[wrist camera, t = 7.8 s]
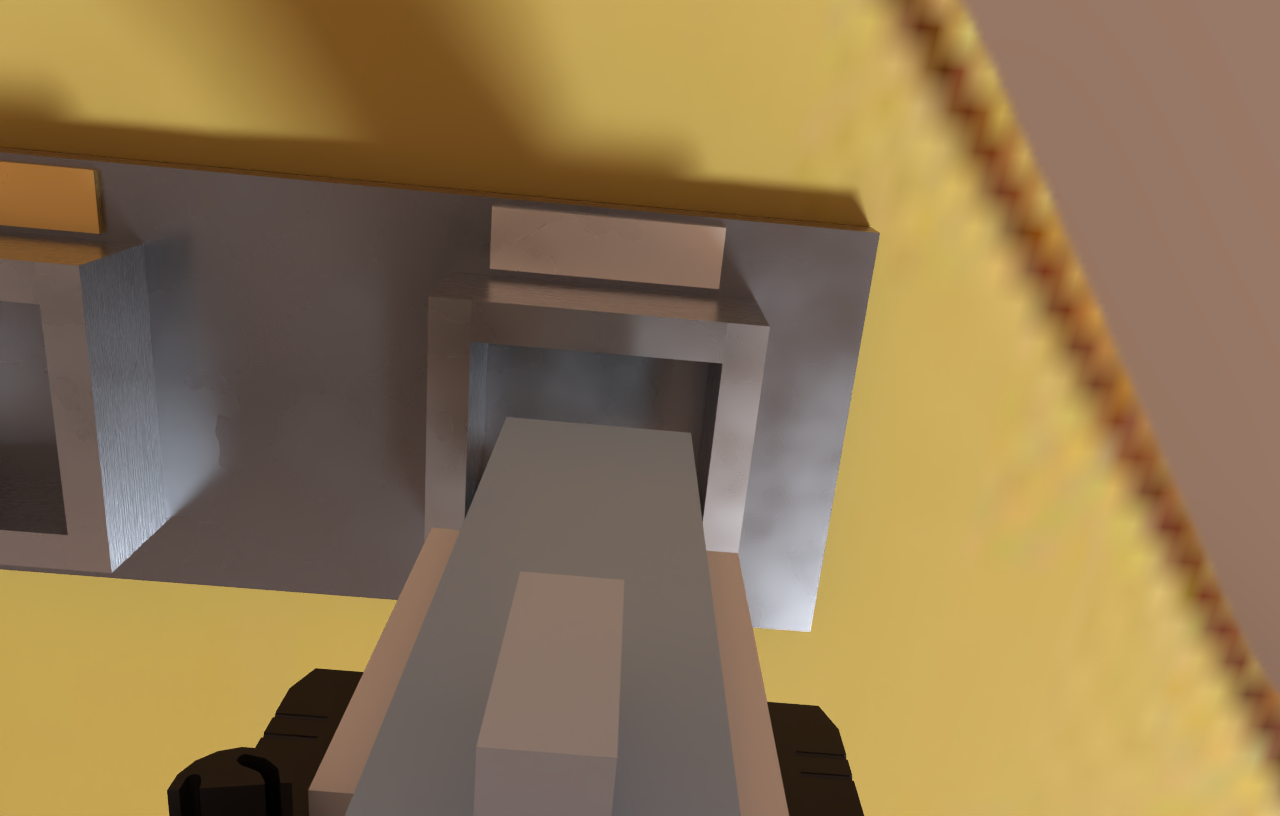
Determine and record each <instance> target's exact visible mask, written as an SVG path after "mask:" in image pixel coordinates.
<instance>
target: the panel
mask: <svg viewBox="0 0 1280 816" xmlns="http://www.w3.org/2000/svg"><path fill="white" fill-rule="evenodd" d="M879 234H880V233H879V232H877V231H876V230H874V229H873V228H871V227H863V226H852V225H841V224H830V223H819V222H808V221H797V220H786V219H776V218H765V217H754V216H743V215H732V214H721V213H710V212H699V211H689V210H678V209H667V208H656V207H645V206H634V205H623V204H612V203H601V202H591V201H580V200H569V199H558V198H547V197H536V196H525V195H514V194H504V193H493V192H482V191H471V190H460V189H449V188H438V187H427V186H416V185H406V184H395V183H384V182H373V181H362V180H351V179H340V178H329V177H319V176H308V175H297V174H286V173H275V172H264V171H253V170H242V169H231V168H221V167H210V166H199V165H188V164H177V163H166V162H155V161H144V160H134V159H123V158H112V157H101V156H90V155H79V154H68V153H57V152H46V151H36V150H25V149H14V148H3V147H0V569H5V570H18V571H31V572H44V573H56V574H69V575H82V576H95V577H108V578H121V579H134V580H147V581H160V582H173V583H186V584H199V585H211V586H224V587H237V588H250V589H263V590H276V591H289V592H302V593H315V594H328V595H341V596H354V597H367V598H379V599H392V600H398V598H399V596H400V594H401V592H402V590H403V588H404V586H405V583H406V581H407V579H408V577H409V575H410V573H411V571H412V569H413V566H414V564H415V562H416V560H417V558H418V556H419V554H420V552H421V549H422V547H423V545H424V543H425V541H426V539H427V537H428V535H429V532H430V530H431V528H443V529H455V530H461V528H462V525H463V523H464V520H465V518H466V515H467V513H468V511H469V508H470V506H471V503H472V501H473V498H474V496H475V493H476V491H477V488H478V486H479V483H480V481H481V478H482V476H483V474H484V471H485V469H486V466H487V464H488V461H489V459H490V456H491V454H492V451H493V449H494V446H495V444H496V442H497V439H498V437H499V434H500V432H501V429H502V427H503V424H504V422H505V419H506V417H514V418H525V419H537V420H548V421H560V422H571V423H583V424H594V425H606V426H617V427H629V428H641V429H652V430H664V431H675V432H687V433H691V437H692V444H693V452H694V460H695V467H696V475H697V483H698V491H699V498H700V506H701V514H702V521H703V529H704V537H705V544H706V551H718V552H730V553H738V556H739V561H740V566H741V571H742V576H743V581H744V586H745V592H746V597H747V602H748V607H749V612H750V617H751V622H752V627H754V628H767V629H780V630H793V631H806V632H810V630H811V625H812V619H813V613H814V607H815V602H816V596H817V590H818V584H819V579H820V573H821V567H822V561H823V556H824V550H825V544H826V539H827V533H828V527H829V521H830V516H831V510H832V504H833V498H834V493H835V487H836V481H837V475H838V470H839V464H840V458H841V452H842V447H843V441H844V435H845V430H846V424H847V418H848V412H849V407H850V401H851V395H852V389H853V384H854V378H855V372H856V366H857V361H858V355H859V349H860V343H861V338H862V332H863V326H864V321H865V315H866V309H867V303H868V298H869V292H870V286H871V280H872V275H873V269H874V263H875V257H876V252H877V246H878V240H879Z"/></svg>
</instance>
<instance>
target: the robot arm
mask: <svg viewBox="0 0 1280 816" xmlns="http://www.w3.org/2000/svg"><path fill="white" fill-rule="evenodd" d="M459 533H460V530H455V529H443V528H431V530H430V532H429V535H428V537H427V539H426V541H425V543H424V545H423V547H422V549H421V552H420V554H419V556H418V558H417V560H416V562H415V564H414V566H413V569H412V571H411V573H410V575H409V577H408V579H407V581H406V583H405V586H404V588H403V590H402V592H401V594H400V596H399V598H398V600H397V603H396V605H395V607H394V609H393V611H392V613H391V615H390V617H389V620H388V622H387V624H386V626H385V628H384V630H383V632H382V634H381V637H380V639H379V641H378V643H377V645H376V647H375V649H374V651H373V654H372V656H371V658H370V660H369V662H368V664H367V666H366V668H365V671H364V672H354V671H342V670H329V669H317V668H316V669H314V670H313V671H312V672H310V673H309V674H308V675H306V676H305V677H304V678H303V679H301V680H300V681H299V682H297V683H296V684H295V685H293V686H292V687H291V688H290V689H289V690H288V692H287V694H286V696H285V697H284V699H283V701H282V702H281V704H280V706H279V708H278V709H277V711H276V714H275V718H274V717H273V718H272V720H271V721H270V723H269V725H268V727H267V728H266V730H265V732H264V737H263V738H261V739H260V740H259V742H258V744H257V746H256V747H255V748H246V747H240V748H234V749H228V750H222V751H218V752H215V753H213V754H210V755H208V756H206V757H203V758H201V759H199V760H196V761H195V762H193V763H192V764H191V765H189V766H188V767H187V768H185V769H184V770H183V771H182V772H180V773H179V774H178V775H177V776H176V778H175V779H174V781H173V782H172V784H171V785H170V787H169V788H168V790H167V794H168V805H169V815H170V816H345V814H346V811H347V809H348V806H349V804H350V802H351V799H352V797H353V794H354V792H355V789H356V787H357V784H358V782H359V779H360V777H361V774H362V772H363V769H364V767H365V765H366V762H367V760H368V757H369V755H370V752H371V750H372V747H373V745H374V742H375V740H376V737H377V735H378V732H379V730H380V728H381V725H382V723H383V720H384V718H385V715H386V713H387V710H388V708H389V705H390V703H391V700H392V698H393V696H394V693H395V691H396V688H397V686H398V683H399V681H400V678H401V676H402V673H403V671H404V668H405V666H406V663H407V661H408V659H409V656H410V654H411V651H412V649H413V646H414V644H415V641H416V639H417V636H418V634H419V631H420V629H421V626H422V624H423V622H424V619H425V617H426V614H427V612H428V609H429V607H430V604H431V602H432V599H433V597H434V594H435V592H436V589H437V587H438V585H439V582H440V580H441V577H442V575H443V572H444V570H445V567H446V565H447V562H448V560H449V557H450V555H451V552H452V550H453V548H454V545H455V543H456V540H457V538H458V535H459ZM706 552H707V560H708V568H709V575H710V583H711V591H712V598H713V606H714V614H715V621H716V629H717V637H718V645H719V652H720V660H721V668H722V675H723V683H724V691H725V698H726V706H727V714H728V722H729V729H730V737H731V745H732V752H733V760H734V768H735V775H736V783H737V791H738V799H739V806H740V814H741V816H864V814H863V810H862V807H861V804H860V800H859V797H858V793H857V790H856V787H855V783H854V781H852V773H851V770H850V766H849V763H848V760H846V753H845V749H844V746H843V743H842V739H841V736H840V733H839V729H838V728H837V727H836V726H835V725H834V723H833V722H832V721H831V720H830V719H829V718H828V716H827V715H826V714H825V713H824V712H823V711H822V710H821V708H820V707H819V706H812V705H799V704H787V703H774V702H767V700H766V694H765V689H764V684H763V679H762V674H761V669H760V664H759V658H758V653H757V648H756V643H755V638H754V633H753V628H752V622H751V617H750V612H749V607H748V602H747V597H746V592H745V586H744V581H743V576H742V571H741V566H740V561H739V556H738V553H730V552H718V551H706Z"/></svg>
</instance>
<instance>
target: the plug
mask: <svg viewBox="0 0 1280 816" xmlns="http://www.w3.org/2000/svg"><path fill="white" fill-rule="evenodd" d="M345 816H741V814H740V806H739V799H738V791H737V783H736V775H735V768H734V760H733V752H732V745H731V737H730V729H729V722H728V714H727V706H726V698H725V691H724V683H723V675H722V668H721V660H720V652H719V645H718V637H717V629H716V621H715V614H714V606H713V598H712V591H711V583H710V575H709V568H708V560H707V552H706V544H705V537H704V529H703V521H702V514H701V506H700V498H699V491H698V483H697V475H696V467H695V460H694V452H693V444H692V437H691V433H687V432H675V431H664V430H652V429H641V428H629V427H617V426H606V425H594V424H583V423H571V422H560V421H548V420H537V419H525V418H514V417H506V419H505V422H504V424H503V427H502V429H501V432H500V434H499V437H498V439H497V442H496V444H495V446H494V449H493V451H492V454H491V456H490V459H489V461H488V464H487V466H486V469H485V471H484V474H483V476H482V478H481V481H480V483H479V486H478V488H477V491H476V493H475V496H474V498H473V501H472V503H471V506H470V508H469V511H468V513H467V515H466V518H465V520H464V523H463V525H462V528H461V530H460V533H459V535H458V538H457V540H456V543H455V545H454V548H453V550H452V552H451V555H450V557H449V560H448V562H447V565H446V567H445V570H444V572H443V575H442V577H441V580H440V582H439V585H438V587H437V589H436V592H435V594H434V597H433V599H432V602H431V604H430V607H429V609H428V612H427V614H426V617H425V619H424V622H423V624H422V626H421V629H420V631H419V634H418V636H417V639H416V641H415V644H414V646H413V649H412V651H411V654H410V656H409V659H408V661H407V663H406V666H405V668H404V671H403V673H402V676H401V678H400V681H399V683H398V686H397V688H396V691H395V693H394V696H393V698H392V700H391V703H390V705H389V708H388V710H387V713H386V715H385V718H384V720H383V723H382V725H381V728H380V730H379V732H378V735H377V737H376V740H375V742H374V745H373V747H372V750H371V752H370V755H369V757H368V760H367V762H366V765H365V767H364V769H363V772H362V774H361V777H360V779H359V782H358V784H357V787H356V789H355V792H354V794H353V797H352V799H351V802H350V804H349V806H348V809H347V811H346V814H345Z"/></svg>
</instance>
